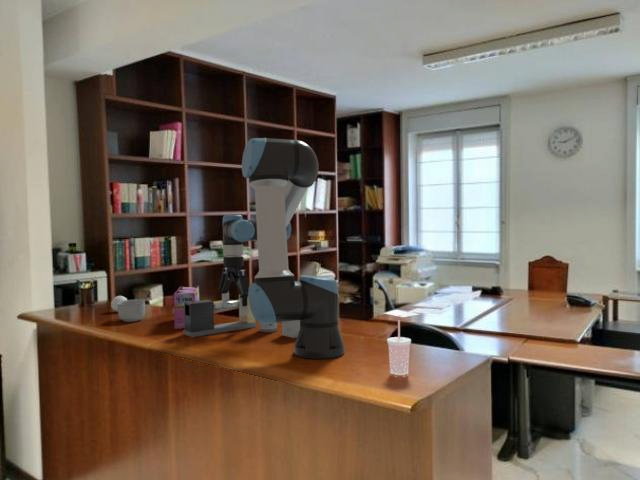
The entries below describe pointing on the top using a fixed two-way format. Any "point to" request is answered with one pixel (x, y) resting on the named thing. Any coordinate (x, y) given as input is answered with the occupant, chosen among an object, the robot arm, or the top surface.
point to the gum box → (179, 298)
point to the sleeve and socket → (207, 315)
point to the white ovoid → (116, 300)
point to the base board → (221, 329)
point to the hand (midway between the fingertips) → (234, 312)
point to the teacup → (131, 310)
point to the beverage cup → (399, 353)
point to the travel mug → (268, 327)
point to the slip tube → (226, 305)
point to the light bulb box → (291, 328)
